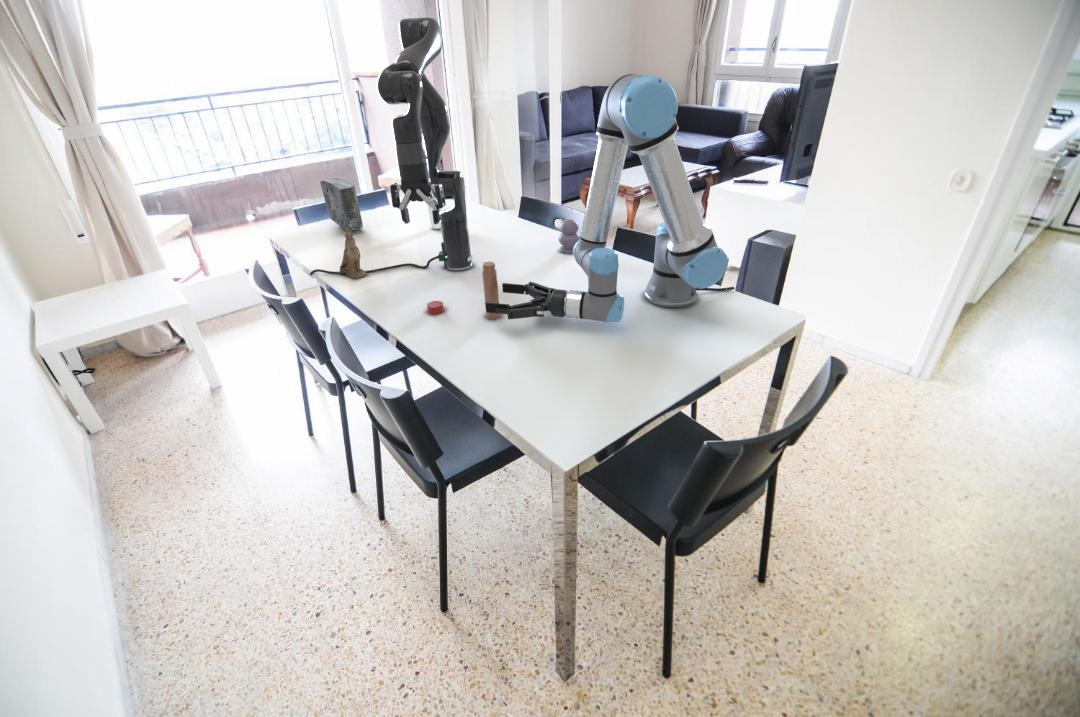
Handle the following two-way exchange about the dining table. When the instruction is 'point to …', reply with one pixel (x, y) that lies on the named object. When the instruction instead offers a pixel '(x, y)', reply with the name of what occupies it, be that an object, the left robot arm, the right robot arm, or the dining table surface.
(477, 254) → the dining table surface
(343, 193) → the concrete block
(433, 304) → the lid
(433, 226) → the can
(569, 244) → the mauve bulbous figurine
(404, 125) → the left robot arm
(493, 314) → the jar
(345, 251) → the brown carved statuette
